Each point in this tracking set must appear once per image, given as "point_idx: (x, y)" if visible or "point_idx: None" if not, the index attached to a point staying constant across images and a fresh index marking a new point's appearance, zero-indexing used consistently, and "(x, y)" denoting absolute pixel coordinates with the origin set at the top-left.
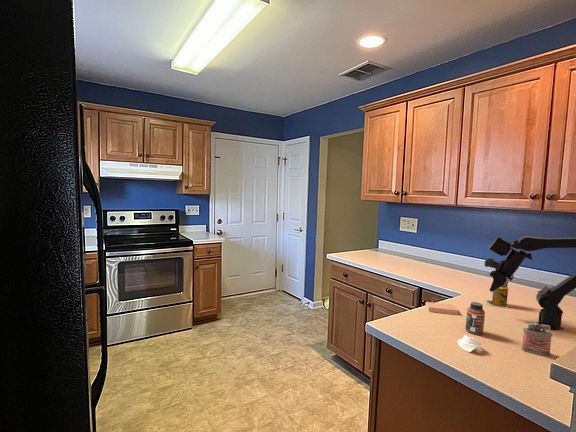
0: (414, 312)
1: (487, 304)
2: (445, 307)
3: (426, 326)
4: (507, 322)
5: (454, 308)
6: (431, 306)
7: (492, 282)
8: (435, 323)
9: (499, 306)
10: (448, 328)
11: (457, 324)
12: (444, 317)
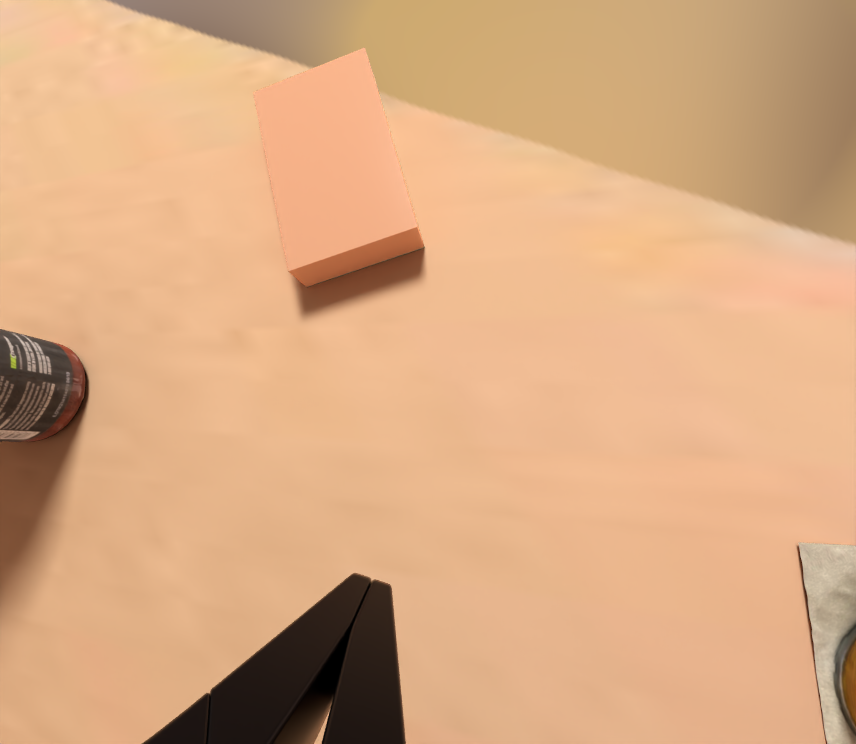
0: (216, 62)
1: (805, 546)
2: (305, 184)
3: (40, 160)
4: None
5: (319, 243)
6: (276, 101)
7: (145, 741)
8: (95, 190)
9: (835, 685)
10: (50, 259)
11: (125, 298)
12: (210, 218)
